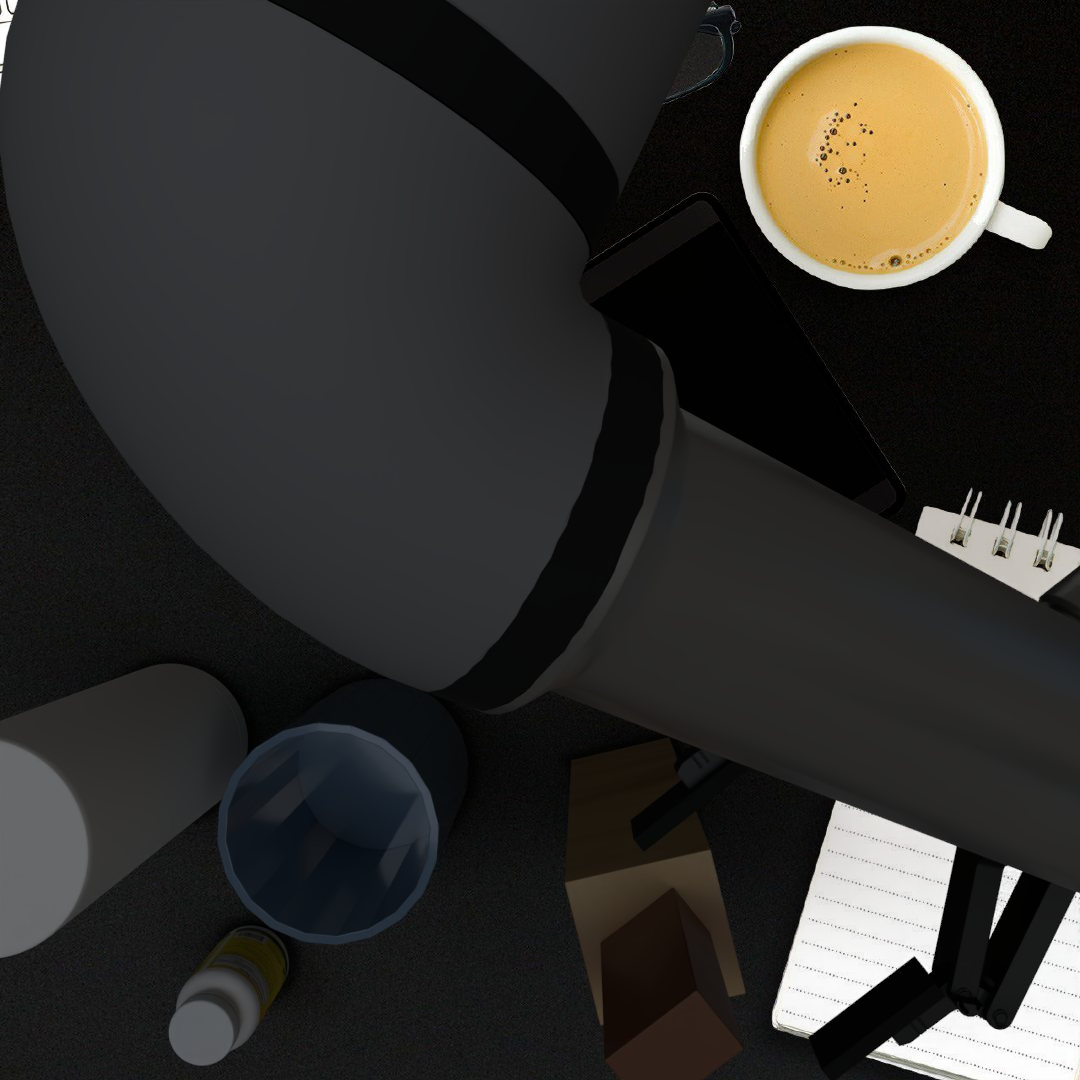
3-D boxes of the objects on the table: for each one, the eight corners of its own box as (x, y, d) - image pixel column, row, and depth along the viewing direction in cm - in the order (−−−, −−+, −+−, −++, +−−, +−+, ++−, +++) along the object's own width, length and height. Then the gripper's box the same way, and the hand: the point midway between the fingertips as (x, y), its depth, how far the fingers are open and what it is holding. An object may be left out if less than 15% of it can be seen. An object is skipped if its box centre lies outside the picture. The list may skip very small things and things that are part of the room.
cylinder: (244, 821, 78) (84, 969, 53) (94, 811, 79) (-135, 952, 54) (251, 668, 78) (92, 744, 53) (99, 658, 78) (-129, 729, 53)
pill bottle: (235, 1009, 79) (178, 1090, 68) (204, 939, 78) (142, 1010, 67) (303, 980, 78) (257, 1058, 67) (273, 911, 78) (222, 977, 67)
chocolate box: (673, 886, 51) (697, 989, 40) (710, 933, 51) (745, 1049, 40) (599, 943, 52) (603, 1060, 41) (637, 989, 52) (651, 1120, 41)
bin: (274, 701, 78) (193, 751, 62) (444, 660, 77) (407, 700, 61) (317, 871, 78) (248, 965, 62) (487, 832, 77) (462, 917, 61)
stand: (571, 760, 77) (564, 882, 52) (669, 737, 76) (710, 849, 51) (595, 857, 77) (600, 1025, 52) (693, 834, 76) (746, 994, 51)
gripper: (1210, 847, 48) (872, 1103, 49) (892, 459, 48) (562, 724, 49) (1326, 911, 40) (924, 1210, 42) (949, 450, 40) (558, 763, 42)
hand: (727, 948), depth 45 cm, fingers open, 13 cm apart
